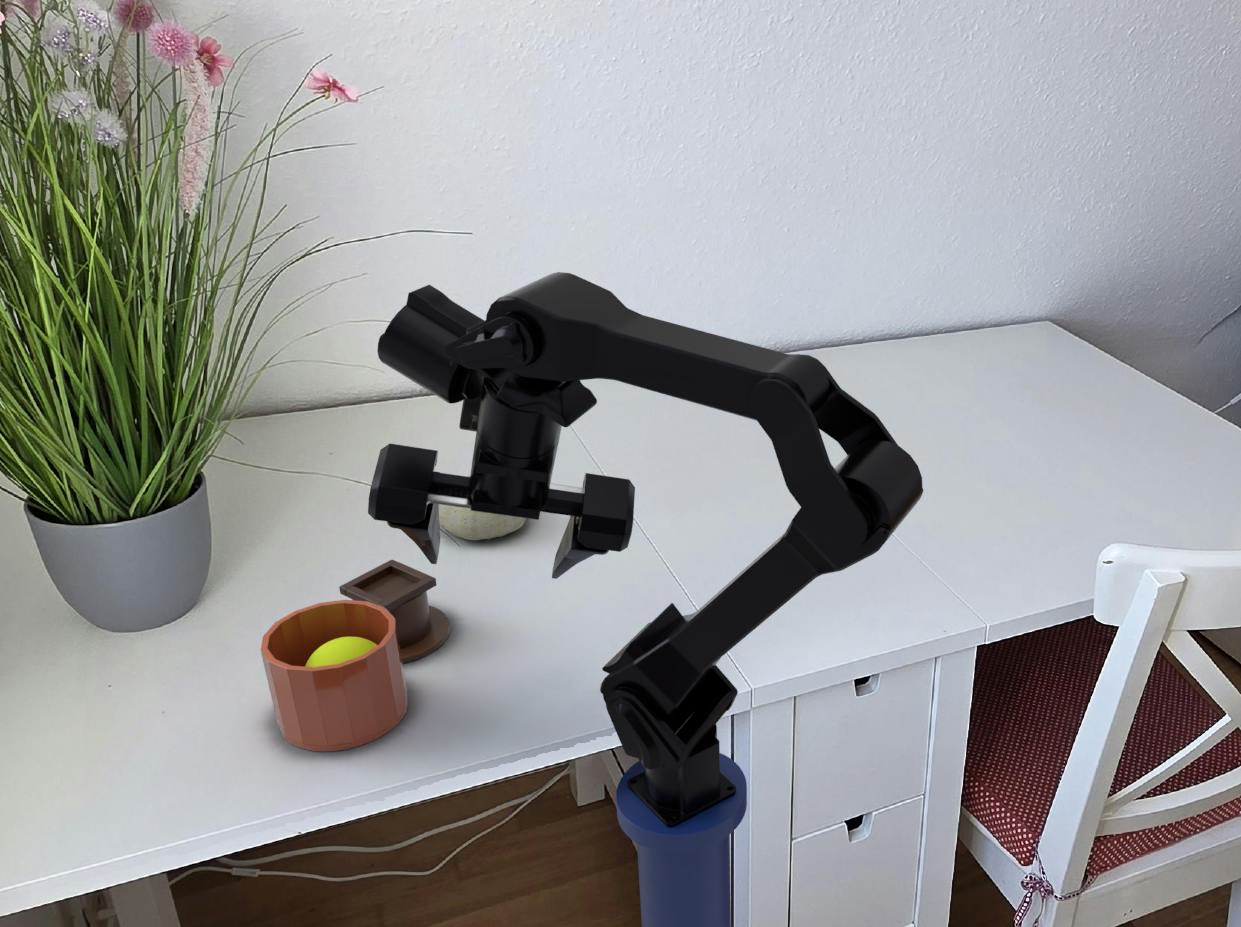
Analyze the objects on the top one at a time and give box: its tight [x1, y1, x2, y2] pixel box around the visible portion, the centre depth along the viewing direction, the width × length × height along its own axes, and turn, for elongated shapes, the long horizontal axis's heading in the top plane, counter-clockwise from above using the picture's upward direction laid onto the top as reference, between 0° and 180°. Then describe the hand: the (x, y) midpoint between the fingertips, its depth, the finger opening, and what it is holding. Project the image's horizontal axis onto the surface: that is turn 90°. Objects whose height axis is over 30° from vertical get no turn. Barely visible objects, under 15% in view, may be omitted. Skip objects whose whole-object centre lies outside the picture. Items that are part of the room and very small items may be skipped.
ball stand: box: [338, 559, 451, 664], centre depth 109 cm, size 9×9×6 cm
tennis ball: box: [305, 637, 377, 667], centre depth 99 cm, size 7×7×7 cm
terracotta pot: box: [260, 599, 409, 752], centre depth 99 cm, size 10×10×8 cm
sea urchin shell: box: [439, 475, 527, 541], centre depth 128 cm, size 9×8×8 cm
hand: (495, 567), depth 99 cm, fingers open, 9 cm apart
